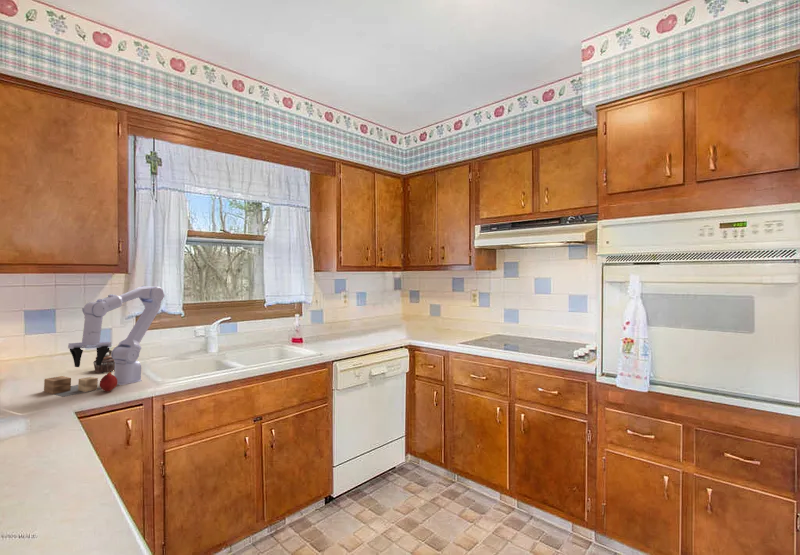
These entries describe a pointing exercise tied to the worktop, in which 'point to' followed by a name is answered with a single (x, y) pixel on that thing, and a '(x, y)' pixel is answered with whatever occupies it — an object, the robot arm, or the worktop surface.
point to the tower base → (57, 389)
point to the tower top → (57, 381)
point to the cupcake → (105, 364)
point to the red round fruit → (108, 382)
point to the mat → (72, 391)
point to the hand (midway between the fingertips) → (87, 366)
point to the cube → (87, 384)
